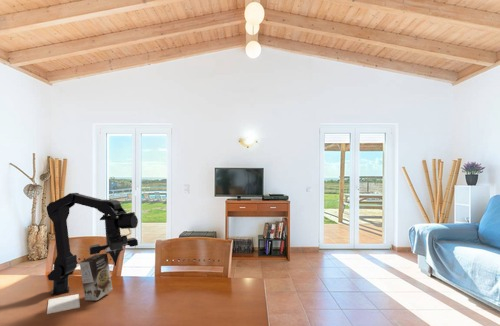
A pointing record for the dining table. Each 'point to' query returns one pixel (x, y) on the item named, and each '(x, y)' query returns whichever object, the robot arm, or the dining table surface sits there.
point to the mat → (63, 303)
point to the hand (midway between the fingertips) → (115, 265)
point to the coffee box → (96, 276)
